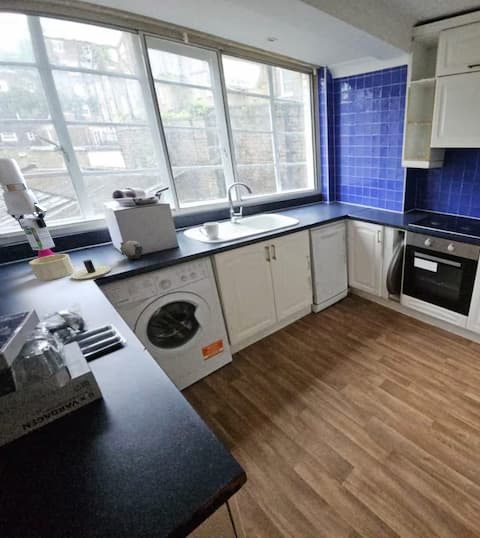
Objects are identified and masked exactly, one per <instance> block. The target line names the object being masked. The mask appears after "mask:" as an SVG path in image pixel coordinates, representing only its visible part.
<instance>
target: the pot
mask: <svg viewBox="0 0 480 538" xmlns="http://www.w3.org/2000/svg"><path fill="white" fill-rule="evenodd" d="M55 254H56V253H55ZM28 264H29V266H30V268H31V270H32V272H33V274H34V276H35V278H36V280H38V281H39V282H41V281H42V282H44V281H45V282H46V281H53V280H58V279H61V278H65V277H67V276H71V275H72V273H73V274H75V273H76V267H75V266H74V264H73V262H72V260H71V257H70V255H69V254H68V253H57V254H56V255H50V256H45V257H41V258H38V257H37V258H35V259H32V260H31V261H29V262H28Z"/></svg>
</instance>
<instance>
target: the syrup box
mask: <svg viewBox="0 0 480 538" xmlns="http://www.w3.org/2000/svg"><path fill="white" fill-rule="evenodd" d="M36 220H37V219H36V218H35V217H34V216H31V217H24V219H20V220H19V221H20V224H21V226H22V228H23V229H22V228H21V229H22V230H23V232H24V234H25V237H26V239H27V241H28V242H29V245H30V247H31V249H32V250H33V251H38V250H45V249H52V248H55V247H56V245H55V243H54V240H53V238H52V235H51V234H50V232H49V229H48V227H44V228H39V227H38V224H37V222H36ZM20 224H19V225H20ZM21 226H20V227H21Z"/></svg>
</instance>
